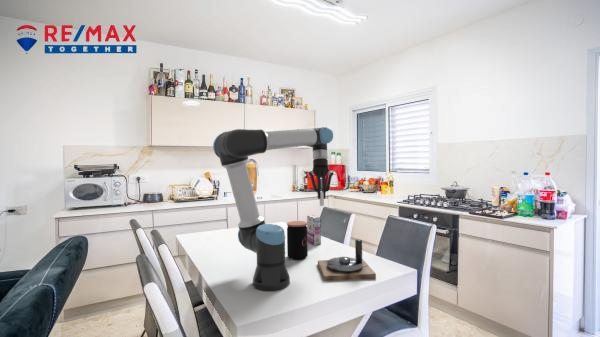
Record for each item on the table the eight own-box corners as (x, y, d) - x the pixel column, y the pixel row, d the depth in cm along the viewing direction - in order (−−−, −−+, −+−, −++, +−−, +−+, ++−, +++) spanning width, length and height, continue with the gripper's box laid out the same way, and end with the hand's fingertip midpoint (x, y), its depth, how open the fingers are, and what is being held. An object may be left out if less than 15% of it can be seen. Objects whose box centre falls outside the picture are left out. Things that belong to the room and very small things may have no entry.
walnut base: (324, 280, 123) (324, 275, 123) (317, 264, 143) (317, 260, 143) (375, 278, 125) (375, 273, 125) (362, 262, 145) (362, 258, 145)
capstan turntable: (329, 273, 126) (329, 246, 126) (325, 260, 142) (324, 236, 142) (366, 271, 126) (366, 245, 126) (358, 259, 142) (357, 236, 142)
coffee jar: (305, 260, 149) (305, 225, 149) (285, 259, 151) (284, 224, 151) (309, 254, 160) (308, 221, 159) (290, 253, 162) (289, 220, 162)
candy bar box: (321, 244, 179) (321, 217, 179) (313, 245, 177) (313, 218, 177) (314, 240, 189) (313, 214, 189) (306, 240, 188) (306, 215, 187)
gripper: (330, 161, 156) (332, 206, 151) (306, 160, 154) (307, 206, 149) (334, 157, 149) (336, 204, 144) (309, 157, 147) (310, 204, 142)
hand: (321, 205), depth 147 cm, fingers closed
